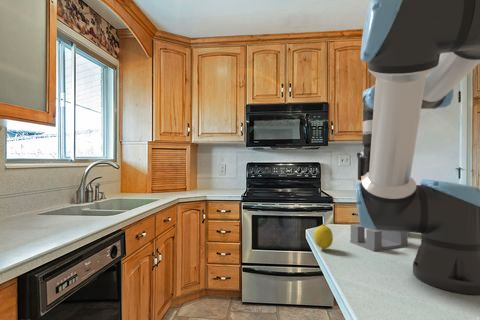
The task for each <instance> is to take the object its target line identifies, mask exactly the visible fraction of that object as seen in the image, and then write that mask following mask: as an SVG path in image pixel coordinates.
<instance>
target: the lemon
mask: <svg viewBox="0 0 480 320" xmlns="http://www.w3.org/2000/svg"><path fill="white" fill-rule="evenodd" d="M333 238H334V236H333V232H332V229H330V228H329V226H327V225H325V224H321V225H319V226H317V228H316V229H315V231H314V238H313V239H314V241H315V244H316V245H317V246H318V247H319V248H320V249H321V250H322V251H325V250H326V249H328V248H330V247H331V245H332V244H333Z"/></svg>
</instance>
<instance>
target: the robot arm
mask: <svg viewBox="0 0 480 320" xmlns="http://www.w3.org/2000/svg"><path fill="white" fill-rule="evenodd" d="M368 4H369V5H368V7H367V10H366V14H365V19H364V25H363V30H362V36H361V46H360V61H361V62H364V63H367V71H368V72H369V73H370V74H371V75H373V77H374V78H375V84H373V86H371V87H369V88H367V89H364V90H363V92H362V99H361V101H362V134H363V135H362V145H363V150H362V151H361V152H356V157H357V179H358V181H361V176H363V178H362V183H361V182H357V183H355V185H354V187H355V188H354V189H355V199H356V207H357V208H356V209H357V217H358V221H359V225H361V226H362V227H364V228H365V229H373V230H378V231H379V230H384V231H398V232H410V233H414V234H420V235H421V236H420V237H421V238H420V239H421V241H420V245H419V248H418V251H417V253H416V254H415V258H414V260H413V263H412V274H413V276H414V277H415V278H417V279H418V280H420V281H421V282H423V283H425V284H428V285H430V286H433V287H435V288H437V289H441V290H444V291H450V292H453V293H459V294H464V295H466V294H467V295H477V296H478V295H479V296H480V188H479V187H477V186H474V185H470V184H469V185H468V184H463V183H462V184H461V183H455V182H448V181H444V180H443V181H442V180H435V179H425V178H424V179H421V181H420V184H417V182H416V180H415V179H414V178H413V177H412V168H413V162H414V156H415V149H416V142H417V138H418V137H417V136H418V131H419V124H420V119H421V118H420V117H421V112H422V110H427V109H429V110H435V109H439V108H446V107H448V106H450V105H451V103H452V100H453V98H454V88H455V87H456V86H457V85H458V84H459V83H460V82H461V81H462V80H464V78H466V76H468V75H469V74H470V72H472V71H473V70H474V69H475V68H476V67H477V66H478V65H479V64H480V0H370V1H369V3H368Z"/></svg>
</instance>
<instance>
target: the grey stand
mask: <svg viewBox="0 0 480 320" xmlns="http://www.w3.org/2000/svg"><path fill="white" fill-rule="evenodd" d="M365 229H366V230H365ZM365 232H366V233H365ZM365 234H366V236H365ZM408 236H409V235H408V232H398V231H384V230H379V231H378V230H373V229H367V228H364V227H362V226H361V225H360V223H359V224H358V223H355V224H350V240H349V241H350V242H349V243H351V244H354V245H356V246H358V247H359V246H360V247H362V248H365V249H368V250H370V251H371V252H376V251H377V252H378V251H385V250H390V249H391V250H392V249H396V248H402V247H409V243H408Z"/></svg>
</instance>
